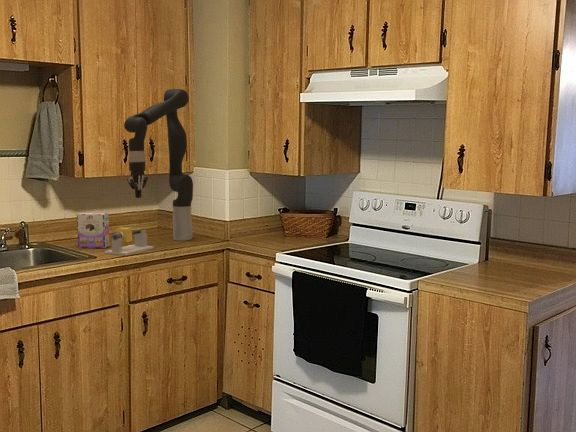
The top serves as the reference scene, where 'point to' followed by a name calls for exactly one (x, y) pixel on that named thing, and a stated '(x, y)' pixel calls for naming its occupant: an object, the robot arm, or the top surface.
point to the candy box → (93, 230)
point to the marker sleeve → (126, 234)
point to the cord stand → (131, 249)
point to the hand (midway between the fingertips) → (138, 197)
